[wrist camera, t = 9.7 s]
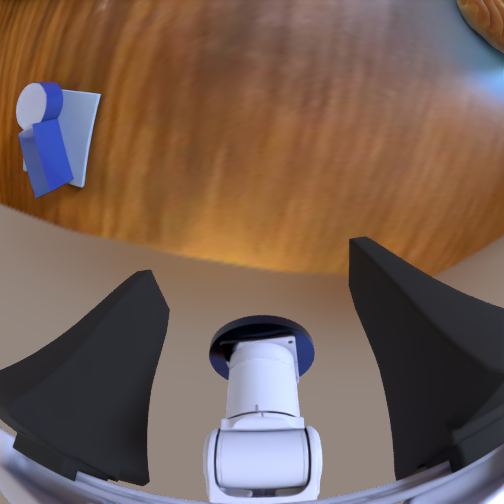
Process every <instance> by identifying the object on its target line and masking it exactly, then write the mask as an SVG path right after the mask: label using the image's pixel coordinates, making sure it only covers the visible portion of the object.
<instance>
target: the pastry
mask: <svg viewBox="0 0 504 504" xmlns="http://www.w3.org/2000/svg"><path fill="white" fill-rule="evenodd" d="M456 1H457V4H458V7H459V9H460V11H461V13H462V15H463V17H464V19H465V20H466V22H467V23H468V24H469V25H470V27H471V28H473V29H474V31H475V32H476V33H478V34H480V35H481V36H482V37H483V38H484V39H485V40H486V41H487V43H489V44H490V45H491V46H492V47H493V48H495V49H497V50H498V51H500V52H502V53H503V54H504V0H456Z"/></svg>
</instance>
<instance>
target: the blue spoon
mask: <svg viewBox="0 0 504 504" xmlns="http://www.w3.org/2000/svg"><path fill="white" fill-rule="evenodd" d="M62 107H63V93H62V90H61V88H60V86H59V85H58V84H57V83H55V82H34V83H31V84H29V85H28V86H26V87H25V88H24V90H23V91H22V93H21V94H20V96H19V99H18V102H17V107H16V117H17V121H18V124H19V125H20V127H21V128H22V129H23V131H22V132H21V133H19V134H18V136H19V141H20V145H21V149H22V153H23V157H24V161H25V165H26V168H27V172H28V175H29V179H30V182H31V185H32V188H33V191H34V194H35V197H36V198H39V197H41V196H43V195H45V194H48V193H50V192H52V191H53V190H55V189H57V188H59V187H60V186H62V185H64V184H66V183H68V182H69V181H71V180H73V179H74V177H73V174H72V171H71V167H70V164H69V160H68V157H67V153H66V149H65V146H64V142H63V138H62V133H61V129H60V125H59V120H58V119H57V118H58V117H59V115H60V113H61V110H62Z"/></svg>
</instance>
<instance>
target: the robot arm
mask: <svg viewBox="0 0 504 504" xmlns="http://www.w3.org/2000/svg"><path fill="white" fill-rule="evenodd" d="M349 288H350V292H351V295H352V299H353V302H354V305H355V309H356V311H357V314H358V316H359V318H360V321H361V323H362V326H363V328H364V330H365V333H366V335H367V338H368V340H369V343H370V345H371V347H372V350H373V352H374V355H375V357H376V360H377V363H378V367H379V370H380V374H381V378H382V382H383V386H384V391H385V395H386V401H387V406H388V411H389V417H390V423H391V431H392V439H393V451H394V470H395V476H396V481H395V482H392V483H389V484H385V485H382V486H379V487H375V488H372V489H368V490H364V491H360V492H355V493H351V494H346V495H341V496H336V497H330V498H324V499H318V500H316V499H317V495H318V494H319V487H320V486H319V485H320V477H321V473H322V449H321V442H320V438H319V434H318V432H317V431H316V430H315V429H313V427H312V426H305V427H304V418H303V417H300V413H299V403H298V394H297V383H299V372H298V362H297V352H296V343H295V336H294V334H283V335H276V336H268V337H259V338H250V339H241V340H230V341H222V342H221V343H220V348H221V350H222V353H223V355H224V358H225V360H226V363H227V365H228V368H229V380H228V392H227V404H226V417H225V419H222V420H221V427H220V428H214V429H213V430H212V431H211V432H210V433H209V434H208V435H207V437H206V440H205V444H204V451H203V471H204V477H205V480H206V488H207V496H208V497H209V501H210V502H200V501H191V500H184V499H178V498H172V497H166V496H161V495H156V494H151V493H146V492H142V491H138V490H134V489H131V488H127V487H123V486H120V485H116V484H113V483H110V482H107V480H108V479H110V480H113V481H116V482H117V481H118V480H120V481H124V482H128V483H132V484H136V485H140V486H144V485H146V484H147V483H149V482H150V480H149V471H148V460H147V426H148V412H149V403H150V395H151V389H152V383H153V379H154V376H155V372H156V368H157V365H158V361H159V358H160V354H161V350H162V347H163V343H164V340H165V336H166V332H167V326H168V319H169V311H170V309H169V307H168V305H167V303H166V301H165V299H164V297H163V295H162V293H161V291H160V289H159V286H158V285H157V282H156V280H155V278H154V276H153V273H152V271H151V270H144V271H137V272H136V273H135V274H133V275H132V276H130V277H129V278H128V279H127V280H125V281H124V282H123V283H122V284H121V285H119V286H118V287H117V288H116V289H115V290H114V291H113V292H111V293H110V294H109V295H108V296H107V297H106V298H105V299H104V300H103V301H102V302H101V303H99V304H98V305H97V306H96V307H95V308H94V309H92V310H91V311H90V312H89V313H88V314H87V315H86V316H84V317H83V318H82V319H81V320H80V321H79V322H78V323H76V324H75V325H74V326H73V327H71V328H70V329H69V330H68V331H66V332H65V333H63V334H62V335H61V336H60V337H58V338H57V339H55V340H54V341H52V342H51V343H49V344H48V345H46V346H45V347H43V348H42V349H40V350H39V351H37V352H36V353H34V354H32V355H30V356H28V357H27V358H25V359H23V360H21V361H19V362H17V363H15V364H13V365H11V366H9V367H6V368H4V369H2V370H0V419H1V420H2V421H3V422H4V423H6V424H7V425H8V426H10V427H11V428H12V429H13V430H15V431H16V432H18V433H17V436H16V438H15V437H14V436H12V435H11V434H10V433H8V432H6V431H5V430H3V429H2V428H0V491H1V492H2V493H3V494H4V496H5V497H6V498H7V500H8V501H9V502H10V504H116V503H118V504H395V503H398V502H401V501H404V500H405V502H404V503H403V504H504V308H501V307H498V306H495V305H492V304H490V303H486V302H484V301H482V300H479V299H477V298H474V297H472V296H469V295H467V294H465V293H462V292H460V291H458V290H456V289H454V288H452V287H450V286H448V285H446V284H444V283H442V282H440V281H438V280H436V279H434V278H433V277H431V276H429V275H427V274H426V273H424V272H422V271H421V270H419V269H417V268H415V267H414V266H412V265H411V264H409V263H407V262H406V261H404V260H403V259H401V258H400V257H398V256H396V255H395V254H393V253H392V252H390V251H389V250H387V249H386V248H384V247H383V246H381V245H379V244H378V243H376V242H375V241H373V240H371V239H370V238H368V237H366V236H365V237H358V238H352V239H349ZM286 487H287V488H286ZM241 488H248V489H241ZM260 488H268V489H260Z"/></svg>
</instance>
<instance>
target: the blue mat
mask: <svg viewBox="0 0 504 504" xmlns="http://www.w3.org/2000/svg"><path fill="white" fill-rule="evenodd" d="M62 93H63V107H62V110H61V113H60V115H59V117H58V118H57V119H58V120H59V125H60V129H61V133H62V138H63V142H64V146H65V149H66V153H67V157H68V160H69V164H70V167H71V171H72V174H73V177H74V179H73V180H71V181H69V182H68V184H71V185H75V186H78V187H81V188H82V187H83V186H84V181H85V173H86V166H87V159H88V152H89V146H90V141H91V135H92V130H93V125H94V120H95V116H96V112H97V107H98V103H99V99H100V96H101V94H95V93H87V92H79V91H70V90H62ZM23 170H25V171H27V168H26V165H25V161H24V162H23Z"/></svg>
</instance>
